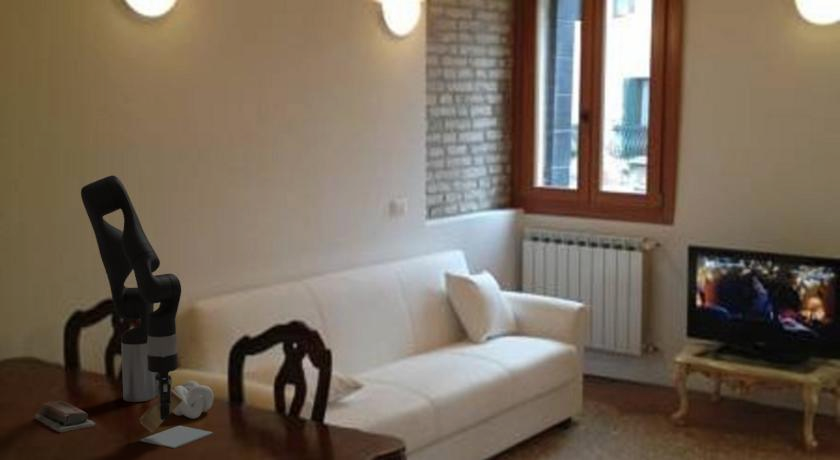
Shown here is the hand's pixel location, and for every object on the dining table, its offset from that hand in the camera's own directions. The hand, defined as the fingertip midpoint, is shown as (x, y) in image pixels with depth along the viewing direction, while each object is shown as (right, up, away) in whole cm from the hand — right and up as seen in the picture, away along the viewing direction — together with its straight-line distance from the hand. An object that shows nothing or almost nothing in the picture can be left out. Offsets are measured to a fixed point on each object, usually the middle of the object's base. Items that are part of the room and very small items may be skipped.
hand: (164, 416), depth 262 cm
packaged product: (-31, -5, +16) cm, 35 cm away
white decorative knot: (+1, -4, +22) cm, 22 cm away
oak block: (-5, -2, -1) cm, 5 cm away
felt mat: (+3, -6, +1) cm, 7 cm away
